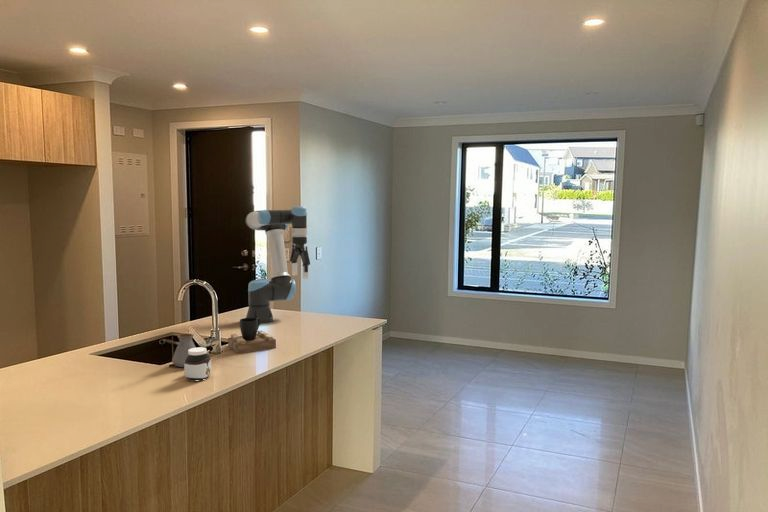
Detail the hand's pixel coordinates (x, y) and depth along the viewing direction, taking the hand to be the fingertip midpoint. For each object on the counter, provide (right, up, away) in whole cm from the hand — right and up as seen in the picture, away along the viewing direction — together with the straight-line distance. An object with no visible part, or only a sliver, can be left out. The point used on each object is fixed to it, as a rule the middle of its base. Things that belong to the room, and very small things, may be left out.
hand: (300, 276), depth 303 cm
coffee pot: (-41, -36, -63) cm, 83 cm away
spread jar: (-30, -37, -74) cm, 88 cm away
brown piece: (-18, -32, -29) cm, 47 cm away
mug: (-18, -28, -30) cm, 45 cm away
